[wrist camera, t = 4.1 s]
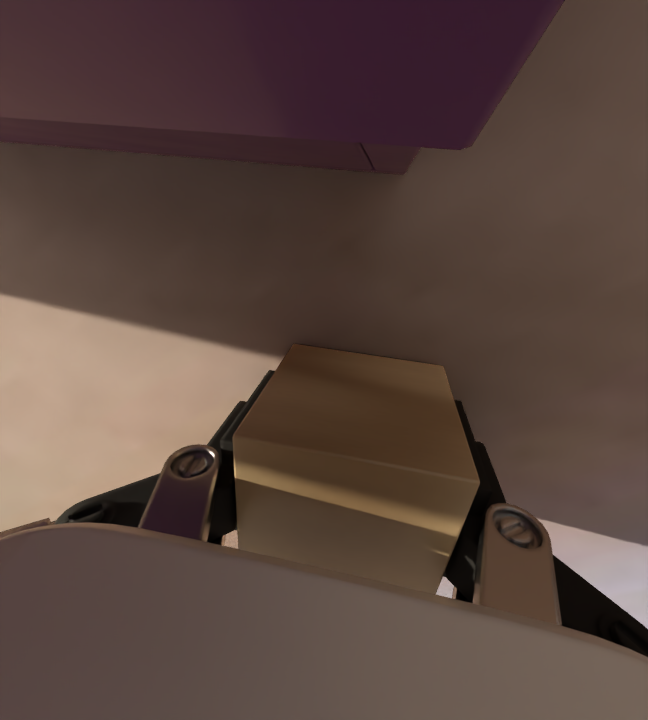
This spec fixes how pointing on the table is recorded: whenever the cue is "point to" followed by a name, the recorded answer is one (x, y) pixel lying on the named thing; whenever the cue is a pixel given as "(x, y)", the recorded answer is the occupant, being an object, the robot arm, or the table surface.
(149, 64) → the lid
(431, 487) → the block
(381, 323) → the table surface
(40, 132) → the purple lidded box
